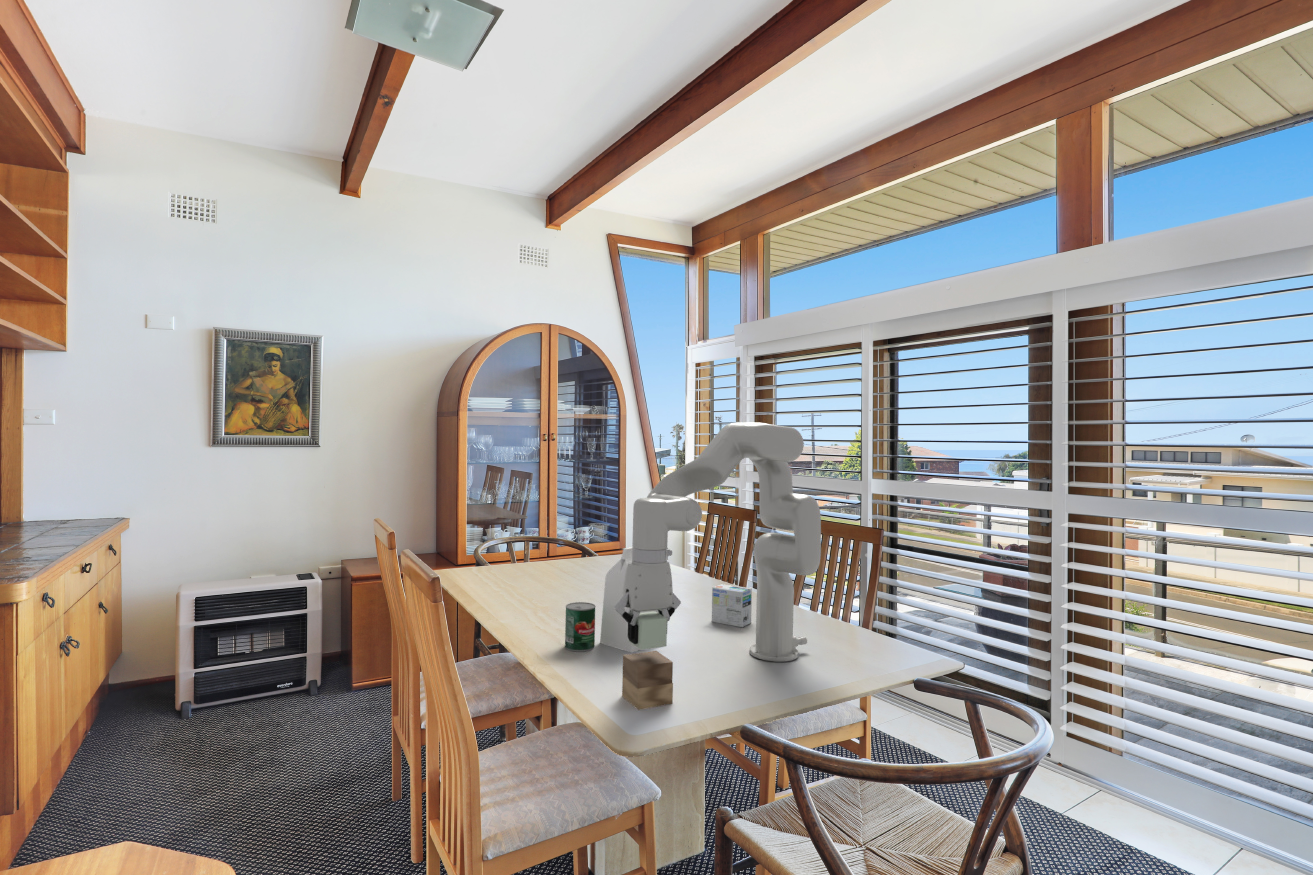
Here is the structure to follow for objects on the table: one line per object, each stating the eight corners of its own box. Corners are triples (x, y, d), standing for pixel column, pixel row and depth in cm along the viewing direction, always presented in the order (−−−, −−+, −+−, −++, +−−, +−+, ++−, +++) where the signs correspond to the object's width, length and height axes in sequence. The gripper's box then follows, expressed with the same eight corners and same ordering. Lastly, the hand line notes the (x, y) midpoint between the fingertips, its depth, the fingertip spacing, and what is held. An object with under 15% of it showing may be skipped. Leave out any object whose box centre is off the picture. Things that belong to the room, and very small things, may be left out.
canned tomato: (573, 640, 183) (574, 600, 183) (599, 644, 181) (600, 603, 181) (559, 649, 176) (560, 607, 176) (586, 653, 173) (587, 610, 173)
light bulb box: (752, 622, 206) (752, 587, 206) (742, 627, 200) (743, 591, 200) (720, 617, 211) (721, 582, 211) (710, 621, 206) (711, 586, 206)
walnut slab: (655, 670, 149) (656, 650, 149) (672, 683, 142) (672, 661, 142) (622, 675, 146) (623, 654, 146) (637, 688, 138) (638, 666, 138)
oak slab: (654, 691, 149) (655, 670, 149) (672, 704, 142) (672, 682, 142) (622, 696, 145) (622, 676, 145) (638, 710, 138) (639, 688, 138)
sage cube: (653, 638, 148) (654, 611, 148) (666, 646, 142) (667, 617, 142) (628, 641, 145) (629, 613, 145) (641, 649, 140) (641, 620, 140)
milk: (629, 633, 191) (631, 542, 191) (660, 642, 184) (663, 547, 184) (599, 643, 182) (602, 547, 182) (631, 652, 175) (634, 552, 175)
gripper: (676, 551, 151) (674, 631, 151) (605, 555, 143) (603, 640, 143) (693, 556, 144) (691, 640, 144) (620, 561, 136) (617, 650, 136)
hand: (647, 639), depth 144 cm, fingers closed on sage cube, 6 cm apart
